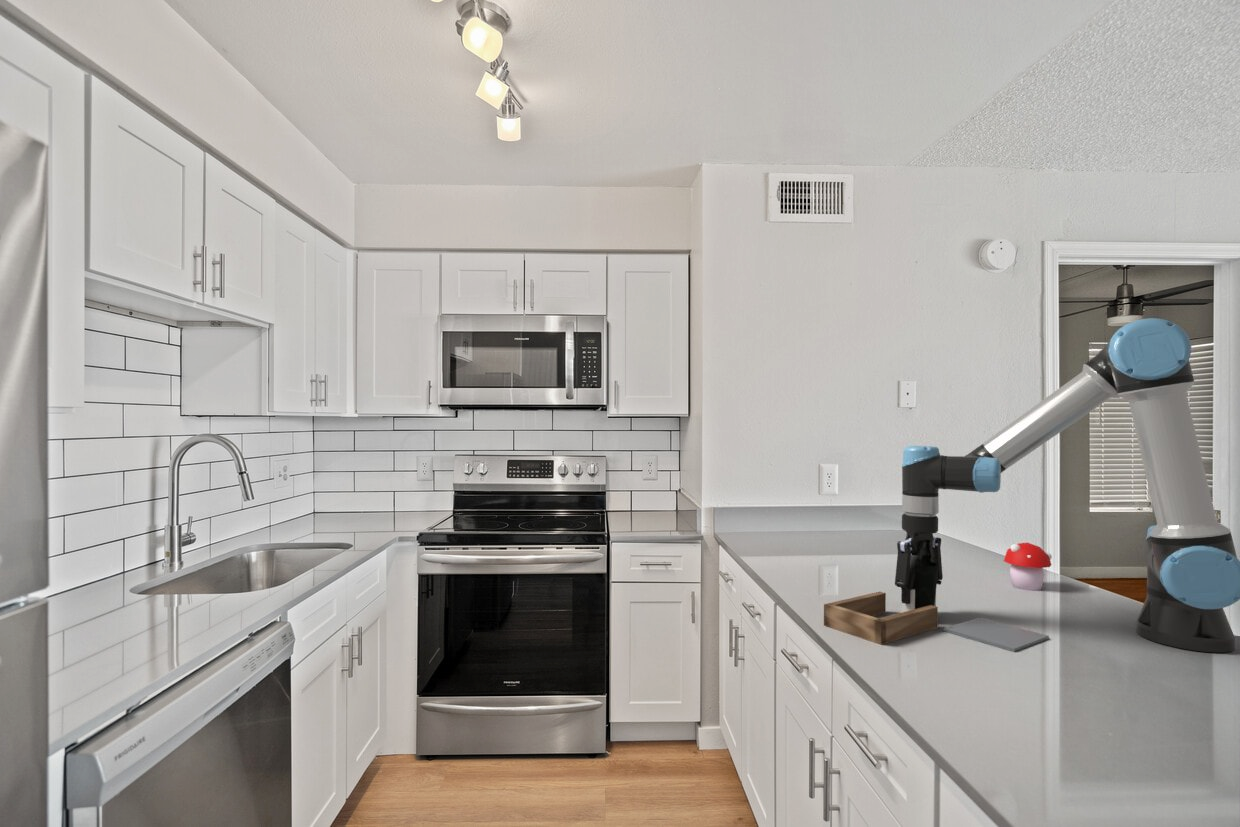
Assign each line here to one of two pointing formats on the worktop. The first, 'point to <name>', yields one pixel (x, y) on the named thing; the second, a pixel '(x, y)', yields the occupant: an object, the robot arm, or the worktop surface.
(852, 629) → the wooden frame
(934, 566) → the cup
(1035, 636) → the coaster
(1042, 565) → the mushroom
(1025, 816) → the worktop surface
